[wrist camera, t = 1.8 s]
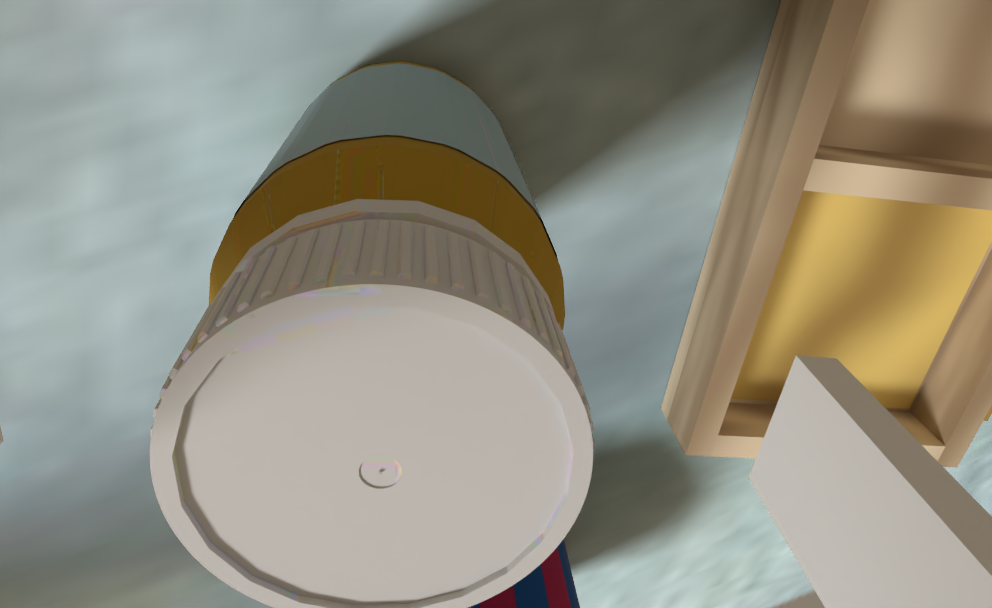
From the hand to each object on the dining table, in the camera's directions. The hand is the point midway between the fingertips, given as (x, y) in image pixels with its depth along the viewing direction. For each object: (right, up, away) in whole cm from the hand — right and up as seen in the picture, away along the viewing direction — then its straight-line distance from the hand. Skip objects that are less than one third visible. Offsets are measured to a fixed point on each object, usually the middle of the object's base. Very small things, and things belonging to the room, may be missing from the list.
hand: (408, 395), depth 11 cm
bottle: (-2, +6, +12) cm, 13 cm away
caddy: (+15, +6, +13) cm, 21 cm away
